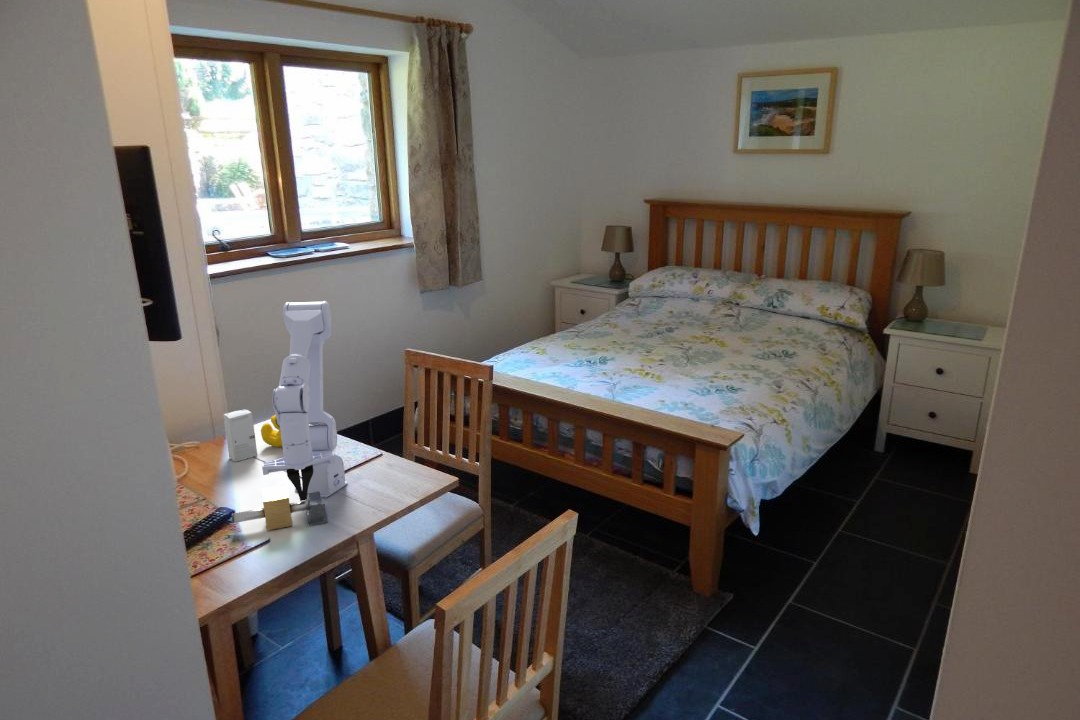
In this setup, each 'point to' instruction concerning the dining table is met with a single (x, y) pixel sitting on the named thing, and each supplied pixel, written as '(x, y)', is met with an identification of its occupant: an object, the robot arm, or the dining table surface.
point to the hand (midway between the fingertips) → (303, 498)
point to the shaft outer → (248, 515)
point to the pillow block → (316, 510)
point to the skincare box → (240, 435)
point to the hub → (277, 507)
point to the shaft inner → (300, 506)
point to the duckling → (272, 433)
